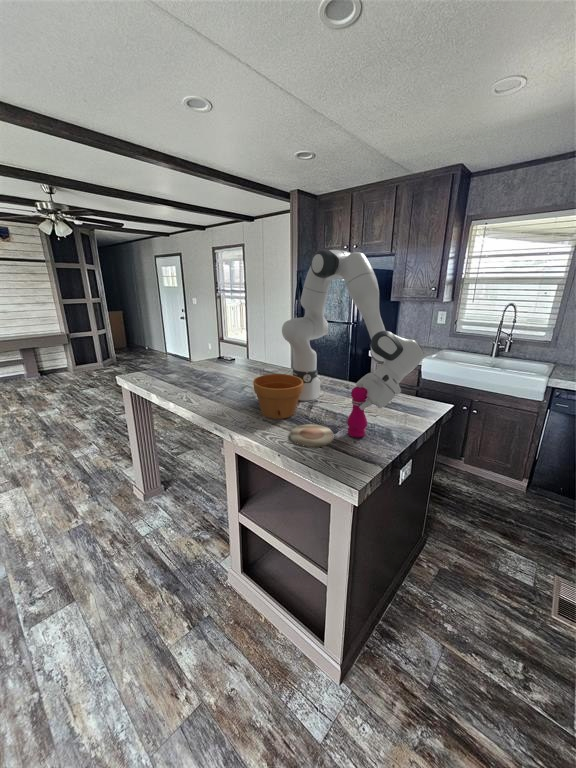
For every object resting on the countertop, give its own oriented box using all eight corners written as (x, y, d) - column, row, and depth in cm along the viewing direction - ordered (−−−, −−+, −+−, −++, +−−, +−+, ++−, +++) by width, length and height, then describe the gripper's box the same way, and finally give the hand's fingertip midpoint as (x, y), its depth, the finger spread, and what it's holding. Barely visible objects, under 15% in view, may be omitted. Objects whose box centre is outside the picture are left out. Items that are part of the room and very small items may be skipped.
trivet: (287, 428, 126) (287, 425, 125) (327, 426, 128) (327, 423, 127) (293, 448, 111) (293, 445, 110) (338, 445, 113) (338, 442, 112)
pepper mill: (363, 429, 124) (367, 379, 118) (368, 437, 117) (373, 386, 111) (344, 429, 124) (348, 379, 117) (348, 438, 117) (352, 386, 110)
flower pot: (308, 407, 147) (309, 376, 142) (293, 426, 128) (293, 391, 123) (266, 401, 153) (265, 371, 149) (246, 418, 135) (244, 385, 130)
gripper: (369, 365, 123) (343, 389, 125) (392, 381, 104) (361, 410, 106) (379, 375, 125) (353, 400, 127) (403, 393, 106) (372, 422, 108)
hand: (357, 404), depth 117 cm, fingers closed on pepper mill, 5 cm apart
